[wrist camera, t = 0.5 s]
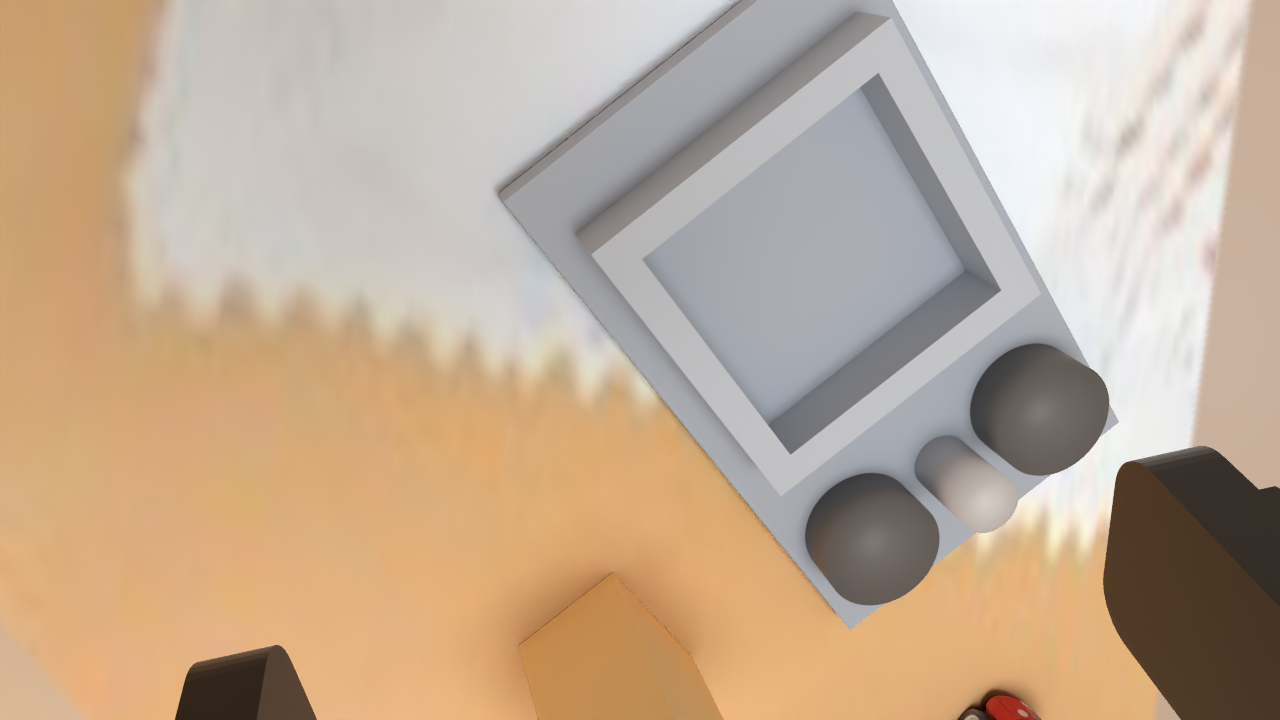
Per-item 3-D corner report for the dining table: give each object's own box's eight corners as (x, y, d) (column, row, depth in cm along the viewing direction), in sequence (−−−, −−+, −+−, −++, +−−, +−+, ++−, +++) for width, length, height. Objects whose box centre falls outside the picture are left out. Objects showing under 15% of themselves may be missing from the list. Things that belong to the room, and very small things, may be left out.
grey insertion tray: (497, 194, 30) (521, 231, 27) (836, -75, 30) (905, -73, 26) (838, 613, 39) (889, 683, 36) (1100, 410, 39) (1179, 460, 35)
